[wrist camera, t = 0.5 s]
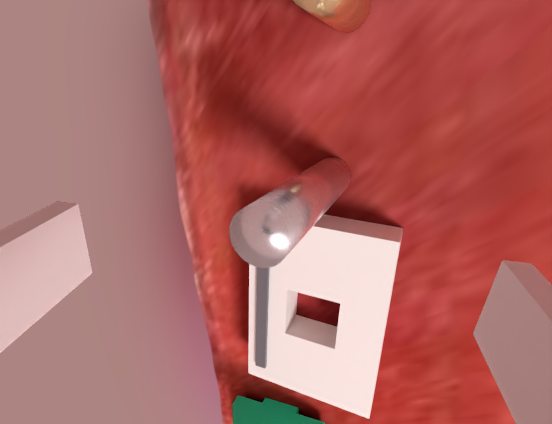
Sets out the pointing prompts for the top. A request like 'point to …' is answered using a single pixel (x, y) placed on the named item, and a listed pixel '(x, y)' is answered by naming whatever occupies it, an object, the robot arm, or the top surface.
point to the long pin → (287, 213)
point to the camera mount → (267, 412)
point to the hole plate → (317, 335)
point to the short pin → (338, 12)
